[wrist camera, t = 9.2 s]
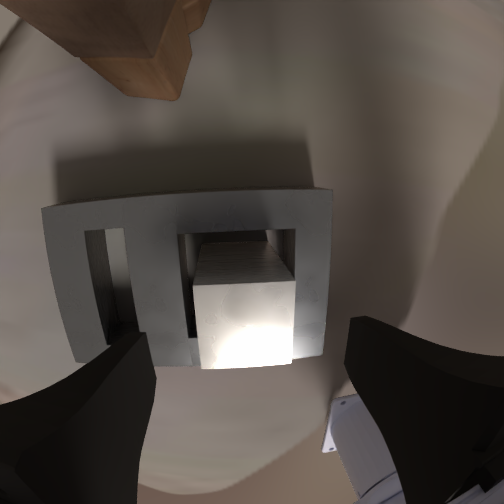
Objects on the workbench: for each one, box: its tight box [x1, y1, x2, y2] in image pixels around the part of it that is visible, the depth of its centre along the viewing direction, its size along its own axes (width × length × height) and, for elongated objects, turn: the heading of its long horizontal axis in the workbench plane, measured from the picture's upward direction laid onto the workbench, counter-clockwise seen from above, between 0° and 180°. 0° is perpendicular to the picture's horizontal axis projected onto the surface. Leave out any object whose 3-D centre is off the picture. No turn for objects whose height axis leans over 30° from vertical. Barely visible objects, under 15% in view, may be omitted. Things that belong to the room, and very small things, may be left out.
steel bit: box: [193, 241, 296, 369], centre depth 15 cm, size 4×4×7 cm
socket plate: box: [41, 187, 333, 366], centre depth 17 cm, size 16×10×3 cm, turn 91°
